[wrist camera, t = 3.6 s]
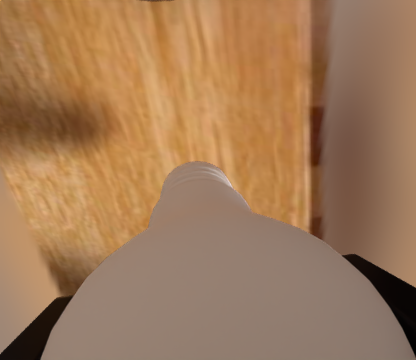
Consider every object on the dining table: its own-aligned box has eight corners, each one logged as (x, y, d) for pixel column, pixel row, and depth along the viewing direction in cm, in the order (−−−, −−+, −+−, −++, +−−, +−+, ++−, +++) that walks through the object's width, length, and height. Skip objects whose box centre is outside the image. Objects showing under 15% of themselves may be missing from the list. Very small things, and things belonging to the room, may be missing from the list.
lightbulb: (94, 116, 11) (-371, 743, 2) (271, 93, 12) (809, 508, 2) (132, 257, 14) (46, 808, 4) (274, 235, 14) (496, 708, 5)
